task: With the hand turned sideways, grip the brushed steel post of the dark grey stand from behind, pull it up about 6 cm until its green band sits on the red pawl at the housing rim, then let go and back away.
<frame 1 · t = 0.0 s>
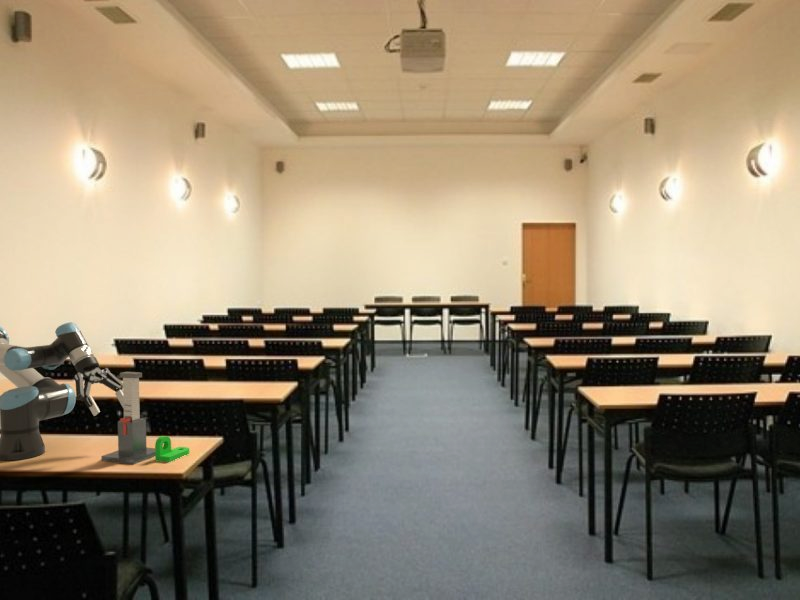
hand: (112, 410, 226), 15 cm above the table, tool tilted 35°, fingers open, 13 cm apart
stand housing: (132, 456, 220), on the table
mechanical part: (174, 457, 220), on the table
column: (131, 412, 220), point 16 cm above the table, slide at 0.0 cm
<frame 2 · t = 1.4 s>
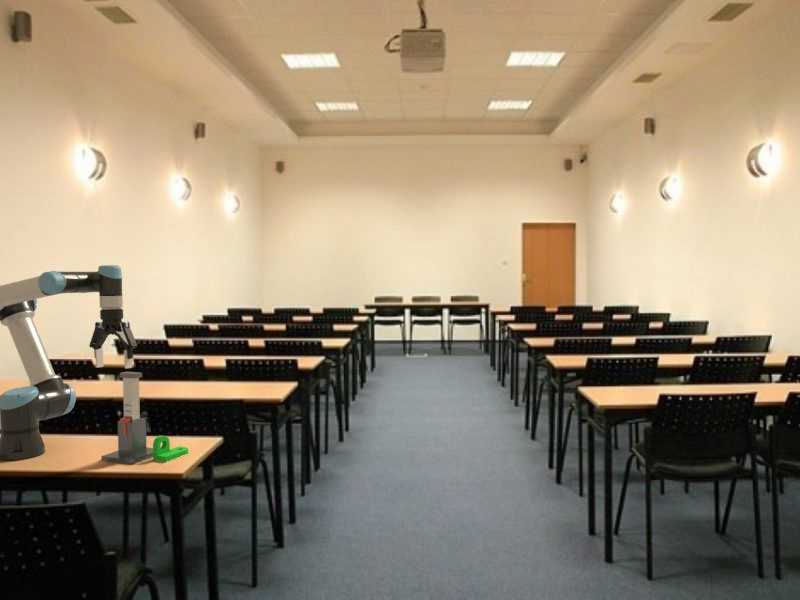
hand: (113, 367, 225), 31 cm above the table, tool pointing down, fingers open, 13 cm apart
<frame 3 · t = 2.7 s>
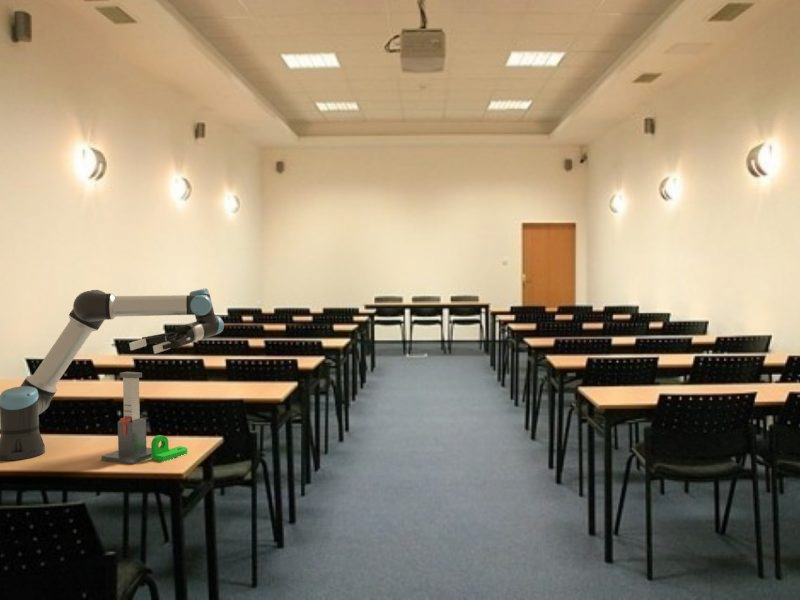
hand: (141, 348, 228), 37 cm above the table, tool horizontal, fingers open, 13 cm apart
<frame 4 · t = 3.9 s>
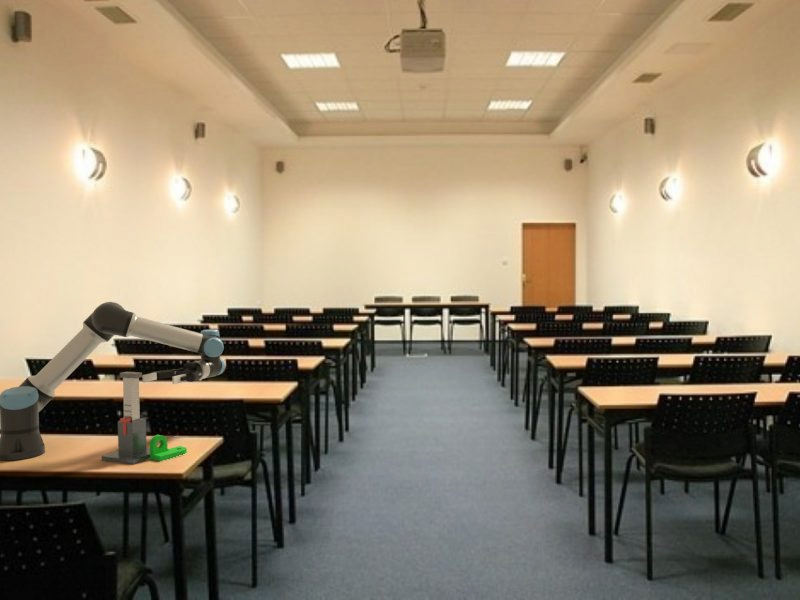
hand: (158, 379, 231), 25 cm above the table, tool horizontal, fingers open, 13 cm apart
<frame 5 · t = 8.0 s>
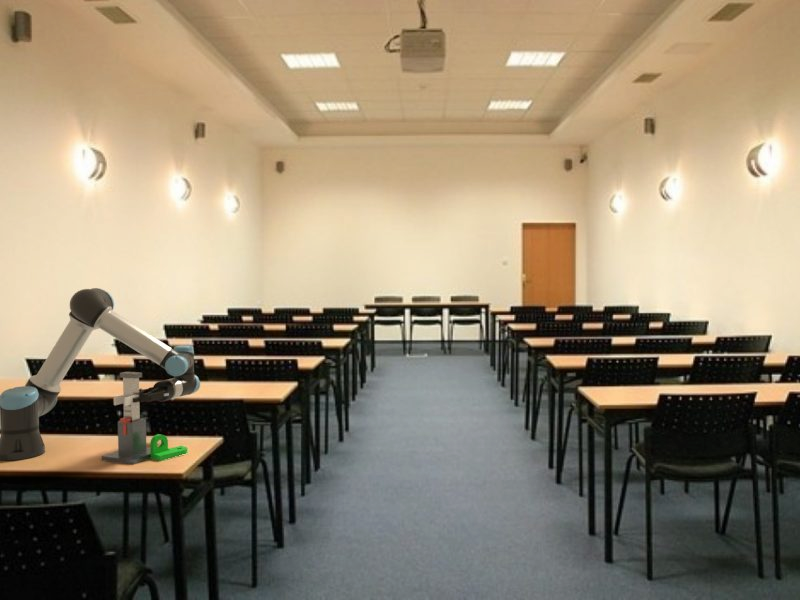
hand: (119, 401, 214), 20 cm above the table, tool horizontal, fingers closed on column, 4 cm apart
column: (131, 412, 220), point 16 cm above the table, slide at 0.0 cm, touching gripper
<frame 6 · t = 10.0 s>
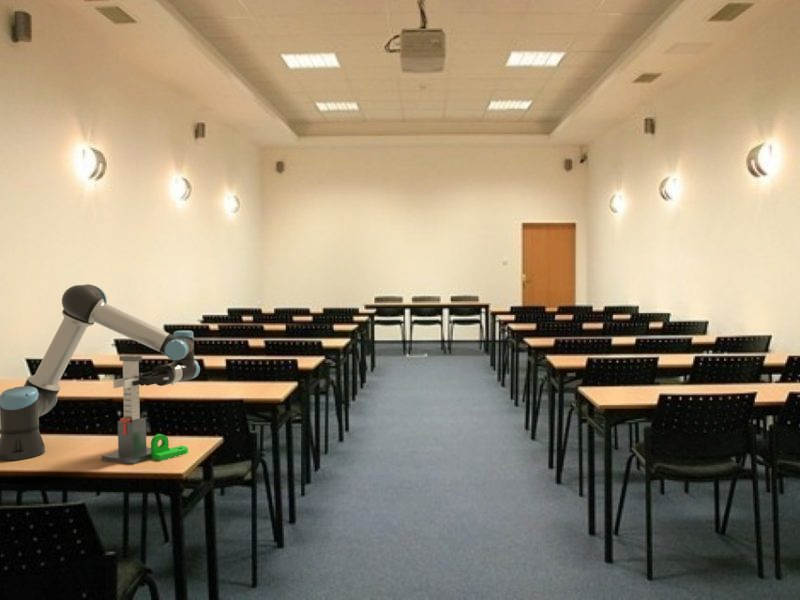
hand: (119, 384, 214), 26 cm above the table, tool horizontal, fingers closed on column, 4 cm apart
column: (131, 395, 219), point 22 cm above the table, slide at 5.9 cm, touching gripper
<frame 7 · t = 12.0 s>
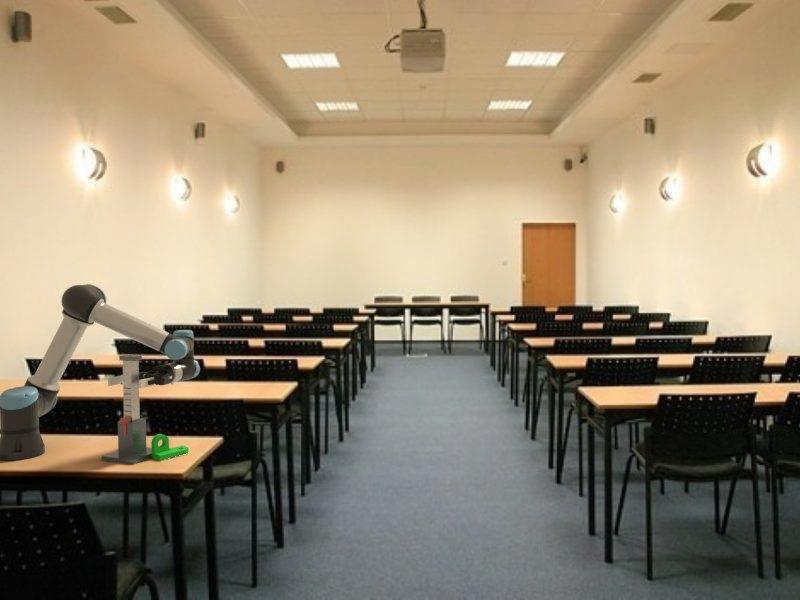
hand: (123, 383, 216), 26 cm above the table, tool horizontal, fingers open, 13 cm apart
column: (131, 395, 219), point 22 cm above the table, slide at 6.0 cm
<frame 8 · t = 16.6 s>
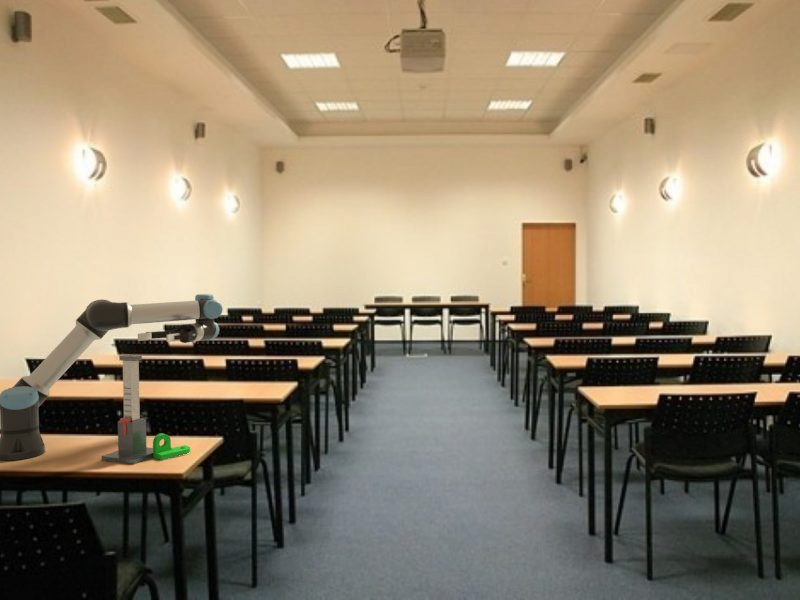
hand: (152, 337, 237), 40 cm above the table, tool horizontal, fingers open, 13 cm apart
at the end: column slide at 6.0 cm; the gripper is holding nothing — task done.
